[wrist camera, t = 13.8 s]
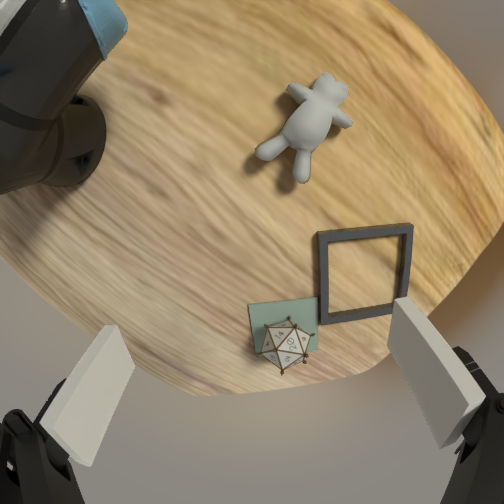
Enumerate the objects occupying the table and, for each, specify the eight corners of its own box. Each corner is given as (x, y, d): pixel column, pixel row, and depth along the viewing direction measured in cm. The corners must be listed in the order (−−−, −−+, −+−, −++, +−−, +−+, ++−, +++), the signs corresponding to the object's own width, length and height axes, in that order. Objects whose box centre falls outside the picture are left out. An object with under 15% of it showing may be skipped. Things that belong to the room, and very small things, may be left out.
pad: (256, 355, 48) (256, 356, 48) (248, 304, 44) (248, 305, 44) (317, 348, 48) (317, 350, 47) (317, 296, 44) (317, 297, 43)
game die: (271, 314, 49) (245, 319, 40) (319, 312, 45) (302, 319, 36) (273, 363, 48) (247, 378, 39) (320, 364, 44) (303, 382, 35)
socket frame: (319, 320, 45) (321, 325, 44) (317, 231, 40) (319, 234, 39) (401, 306, 45) (404, 310, 43) (409, 222, 39) (413, 225, 38)
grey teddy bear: (371, 96, 30) (315, 191, 32) (356, 105, 34) (305, 189, 37) (309, 55, 28) (247, 148, 31) (300, 68, 33) (245, 152, 36)
